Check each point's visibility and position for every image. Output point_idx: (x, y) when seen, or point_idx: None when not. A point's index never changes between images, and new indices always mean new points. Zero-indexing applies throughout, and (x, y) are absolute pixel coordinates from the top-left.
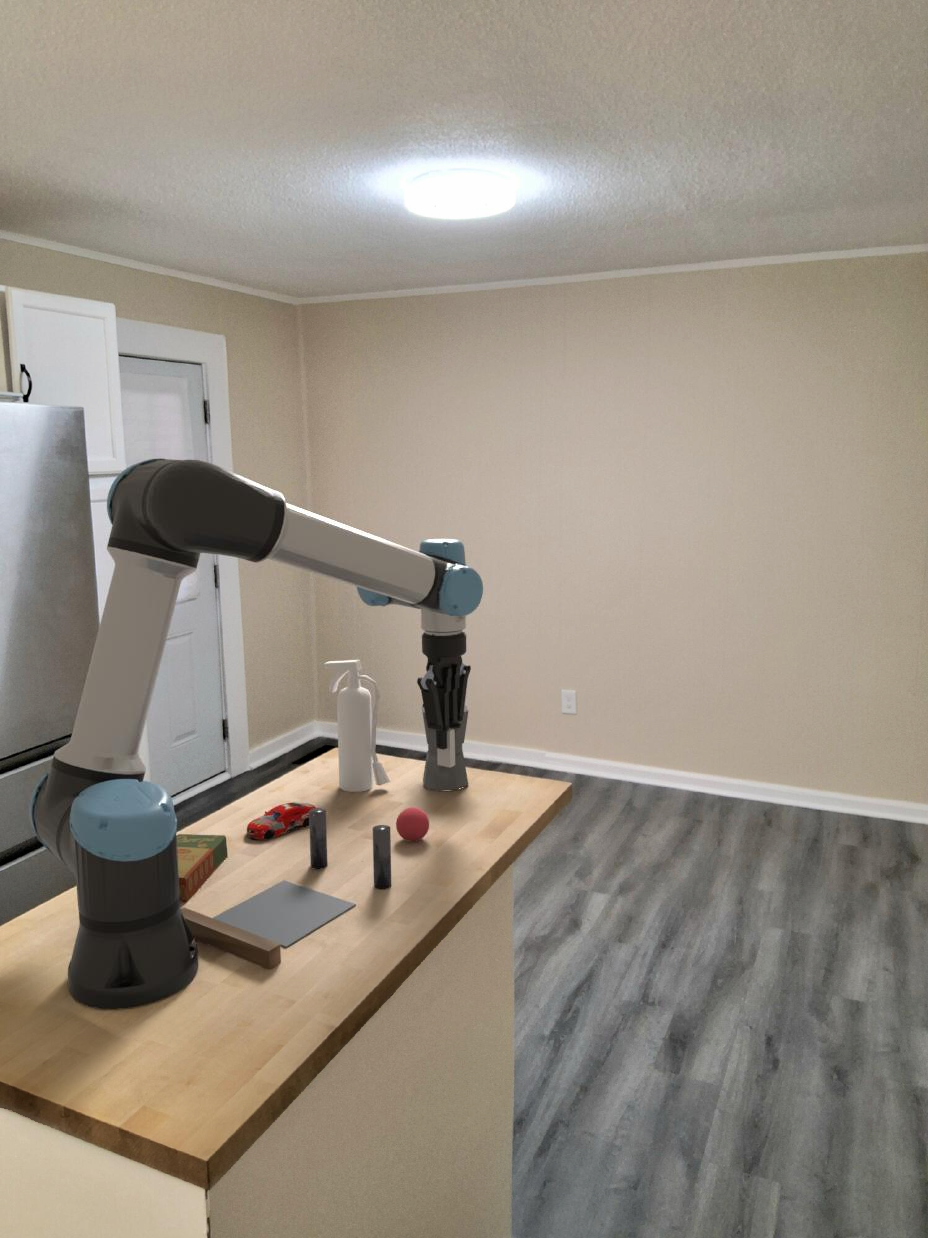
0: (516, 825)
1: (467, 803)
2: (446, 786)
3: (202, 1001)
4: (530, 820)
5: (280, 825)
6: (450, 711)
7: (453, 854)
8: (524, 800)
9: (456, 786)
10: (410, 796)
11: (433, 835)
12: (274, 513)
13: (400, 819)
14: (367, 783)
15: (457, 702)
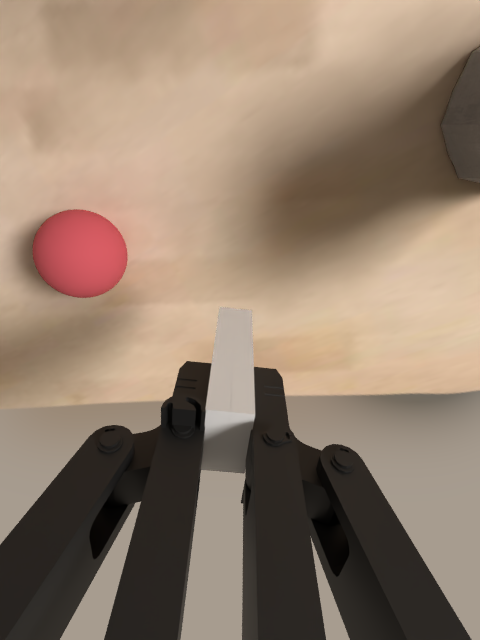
0: None
1: (366, 248)
2: (455, 149)
3: None
4: (313, 393)
5: None
6: (246, 557)
7: (95, 342)
8: (420, 349)
9: (463, 178)
10: (374, 52)
11: (148, 268)
12: None
13: (33, 245)
14: None
15: (354, 609)
